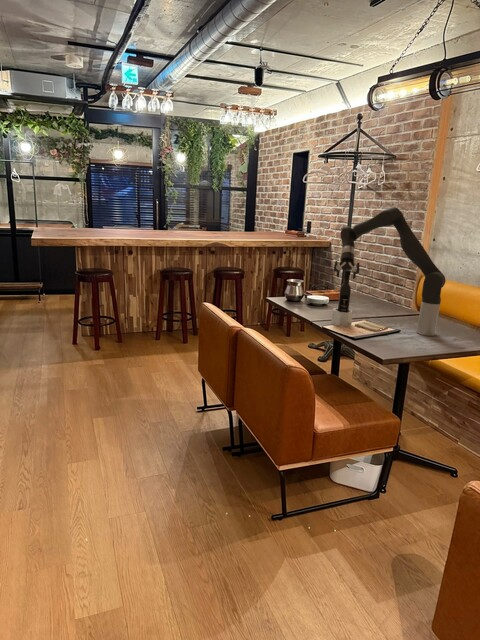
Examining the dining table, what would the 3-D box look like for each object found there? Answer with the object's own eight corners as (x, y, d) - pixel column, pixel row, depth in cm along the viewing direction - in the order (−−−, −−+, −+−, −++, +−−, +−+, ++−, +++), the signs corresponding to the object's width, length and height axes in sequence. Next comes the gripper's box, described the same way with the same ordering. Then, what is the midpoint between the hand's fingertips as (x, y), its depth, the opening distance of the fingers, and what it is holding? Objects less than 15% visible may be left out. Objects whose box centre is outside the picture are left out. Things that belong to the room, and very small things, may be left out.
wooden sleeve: (338, 320, 261) (340, 307, 259) (354, 325, 254) (356, 311, 252) (328, 323, 254) (329, 309, 252) (343, 327, 247) (345, 313, 245)
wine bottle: (346, 326, 251) (353, 271, 244) (336, 324, 252) (342, 270, 245) (346, 323, 257) (353, 270, 249) (336, 322, 258) (342, 269, 250)
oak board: (367, 322, 261) (367, 321, 261) (387, 328, 252) (388, 326, 252) (354, 326, 252) (354, 324, 252) (375, 331, 243) (376, 329, 243)
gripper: (335, 250, 265) (333, 272, 257) (361, 252, 262) (359, 274, 254) (334, 258, 271) (332, 280, 263) (359, 260, 269) (357, 282, 261)
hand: (345, 277), depth 259 cm, fingers open, 8 cm apart
